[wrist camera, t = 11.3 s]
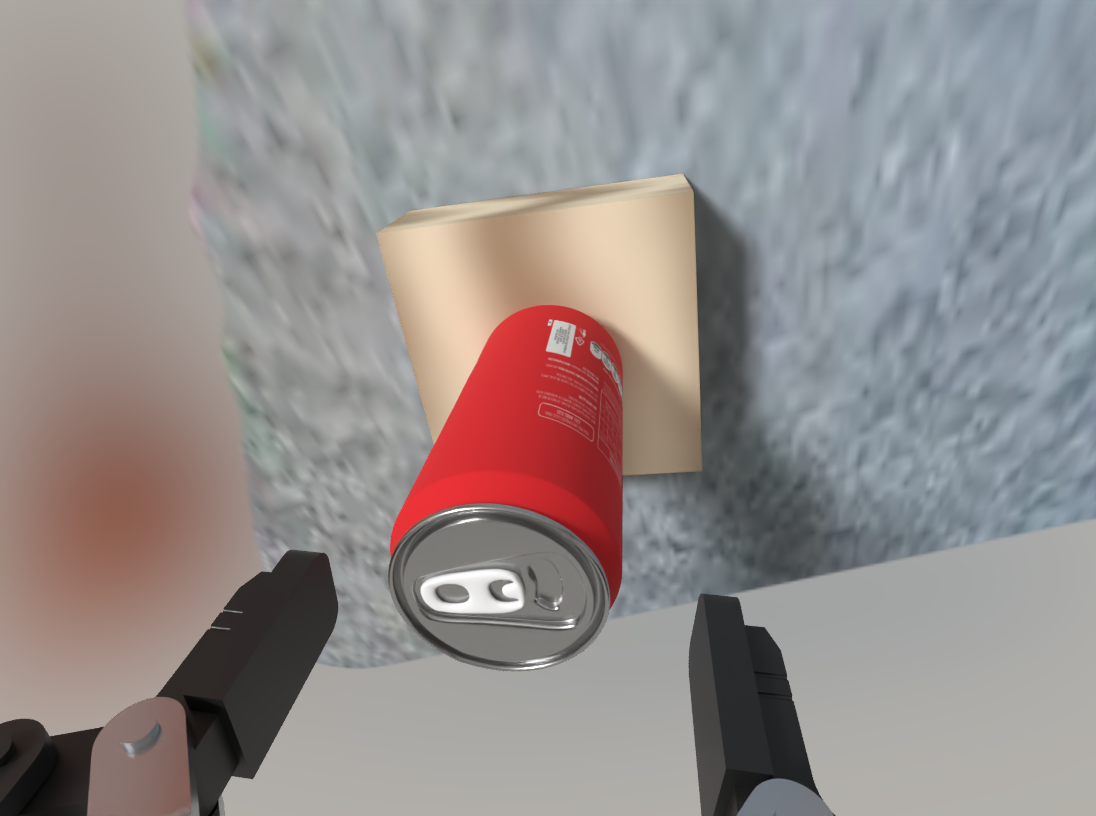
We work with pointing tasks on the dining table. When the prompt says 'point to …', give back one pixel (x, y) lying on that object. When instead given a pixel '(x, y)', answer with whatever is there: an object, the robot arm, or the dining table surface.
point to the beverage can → (520, 500)
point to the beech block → (562, 296)
